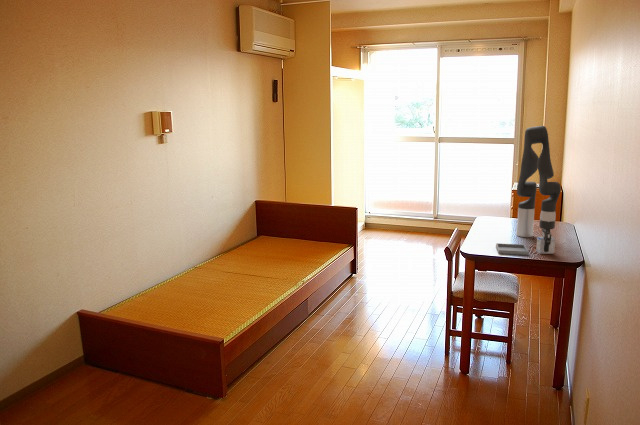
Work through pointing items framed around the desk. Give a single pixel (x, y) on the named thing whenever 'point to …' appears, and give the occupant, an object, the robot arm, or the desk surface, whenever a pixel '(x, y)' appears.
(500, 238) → the desk surface
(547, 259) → the desk surface
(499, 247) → the tray
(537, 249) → the medicine box
